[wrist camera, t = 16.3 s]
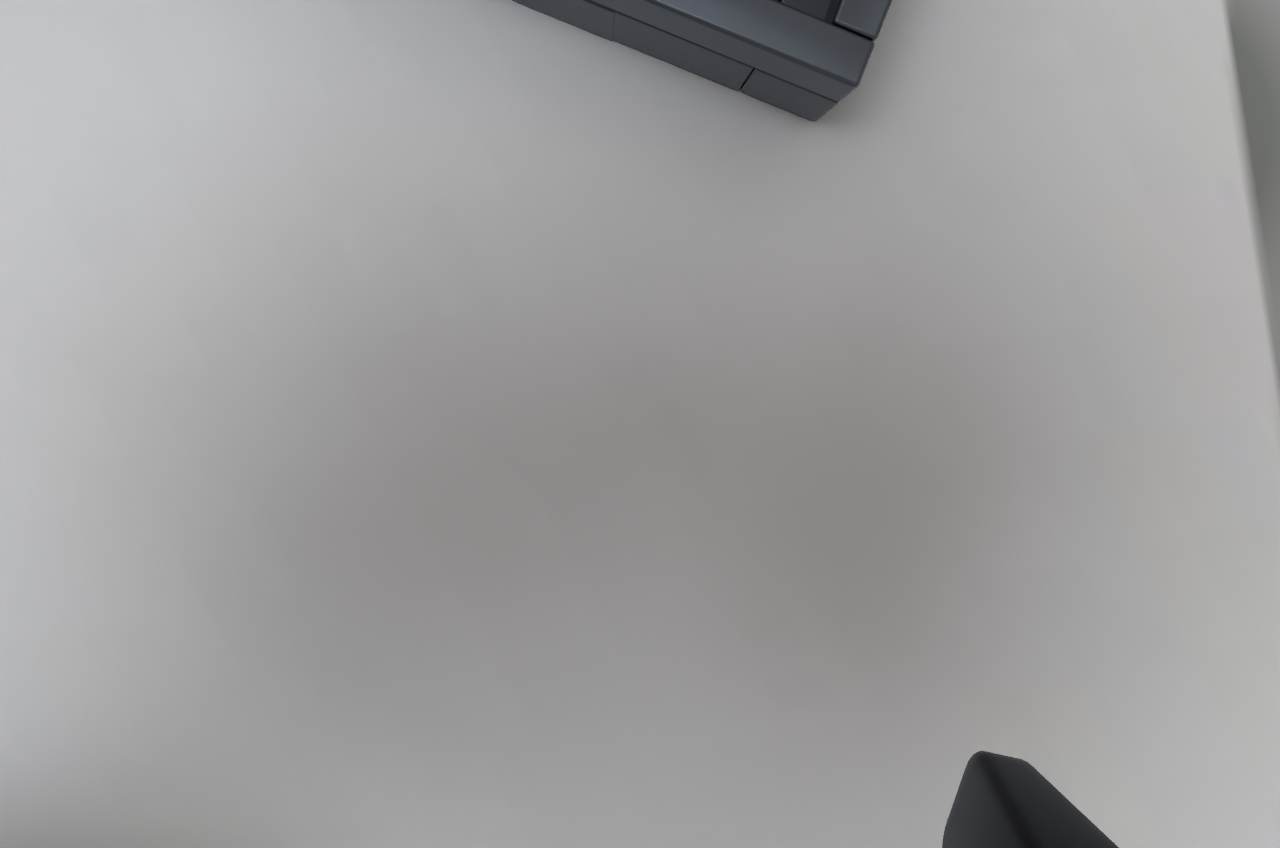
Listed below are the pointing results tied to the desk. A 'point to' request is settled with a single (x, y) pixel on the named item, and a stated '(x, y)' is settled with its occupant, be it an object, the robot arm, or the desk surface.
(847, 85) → the sink rim
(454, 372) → the desk surface
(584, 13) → the sink
